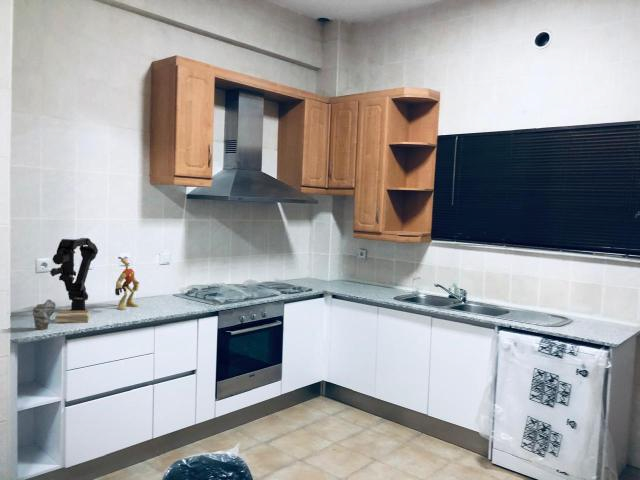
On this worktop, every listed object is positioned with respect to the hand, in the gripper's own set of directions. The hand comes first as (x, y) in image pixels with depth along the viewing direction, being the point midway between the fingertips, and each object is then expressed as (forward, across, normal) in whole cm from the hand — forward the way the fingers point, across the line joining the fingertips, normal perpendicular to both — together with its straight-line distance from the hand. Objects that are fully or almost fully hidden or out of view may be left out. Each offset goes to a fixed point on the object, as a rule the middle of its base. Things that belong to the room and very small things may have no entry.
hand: (67, 291), depth 287 cm
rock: (+13, +30, -7) cm, 33 cm away
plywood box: (+13, +14, +4) cm, 20 cm away
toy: (+13, -15, +29) cm, 35 cm away
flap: (+9, +12, +4) cm, 16 cm away
